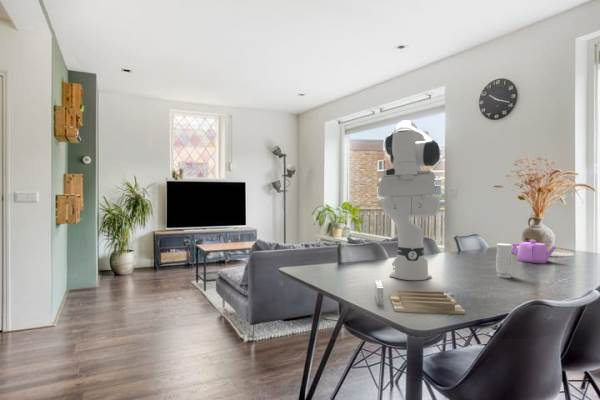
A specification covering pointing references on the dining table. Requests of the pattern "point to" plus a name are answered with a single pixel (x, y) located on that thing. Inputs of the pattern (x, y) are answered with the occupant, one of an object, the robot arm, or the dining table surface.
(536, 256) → the teakettle
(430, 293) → the rack
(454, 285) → the dining table surface
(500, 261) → the candle
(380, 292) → the blanking panel
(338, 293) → the dining table surface
